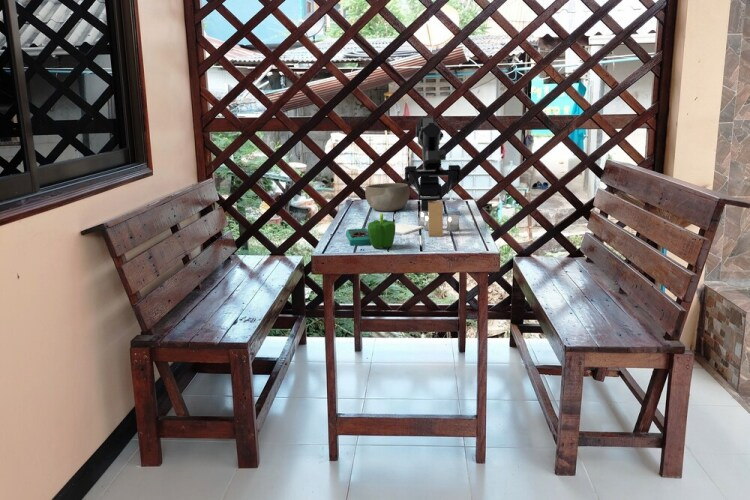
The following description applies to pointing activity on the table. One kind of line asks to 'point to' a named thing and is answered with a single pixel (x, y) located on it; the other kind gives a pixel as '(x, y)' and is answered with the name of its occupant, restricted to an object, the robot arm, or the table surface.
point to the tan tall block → (435, 218)
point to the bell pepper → (381, 233)
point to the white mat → (406, 228)
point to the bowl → (387, 196)
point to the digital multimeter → (358, 237)
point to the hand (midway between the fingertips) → (433, 193)
